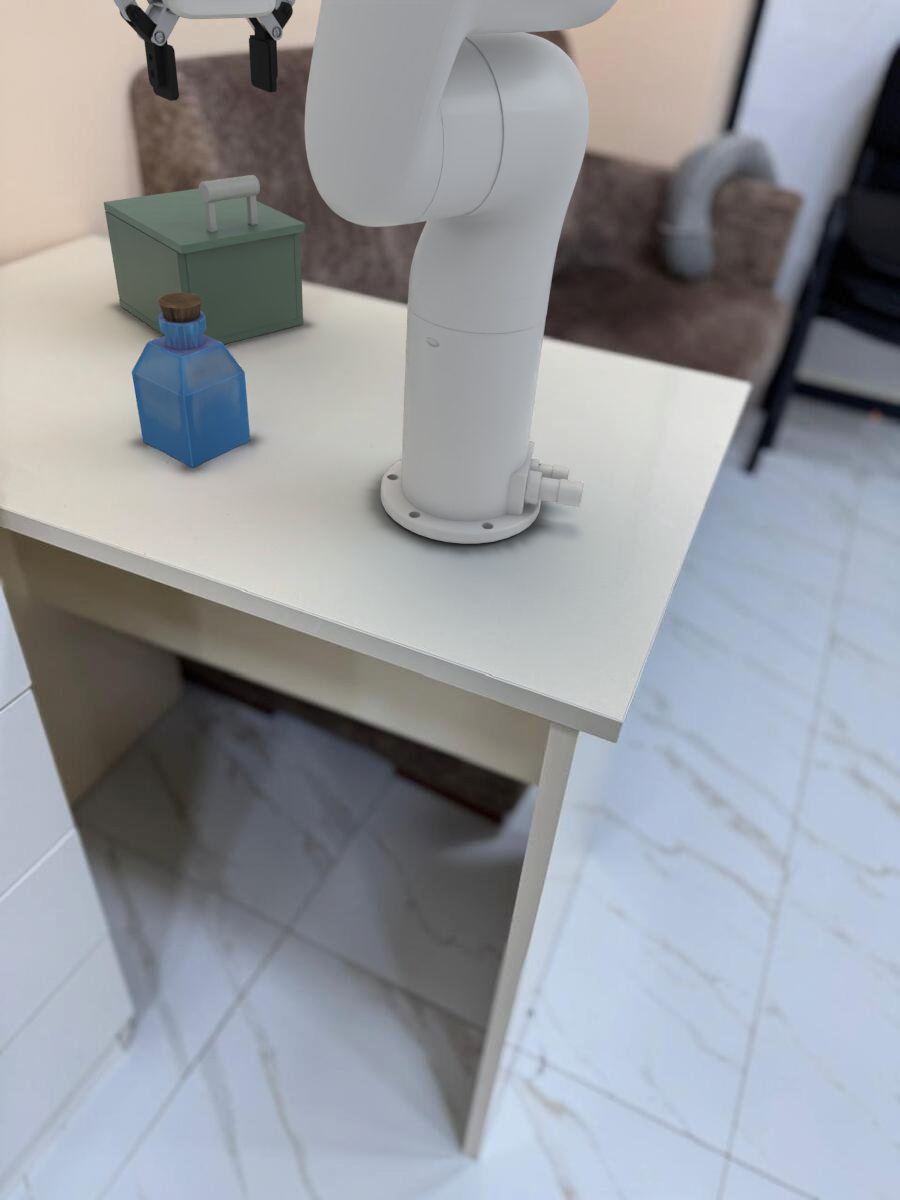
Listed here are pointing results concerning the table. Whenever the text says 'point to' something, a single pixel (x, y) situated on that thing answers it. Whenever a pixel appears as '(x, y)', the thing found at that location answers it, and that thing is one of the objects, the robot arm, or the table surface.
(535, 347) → the robot arm
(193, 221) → the lid
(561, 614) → the table surface
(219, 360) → the perfume bottle
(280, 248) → the chest
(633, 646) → the table surface
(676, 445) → the table surface
